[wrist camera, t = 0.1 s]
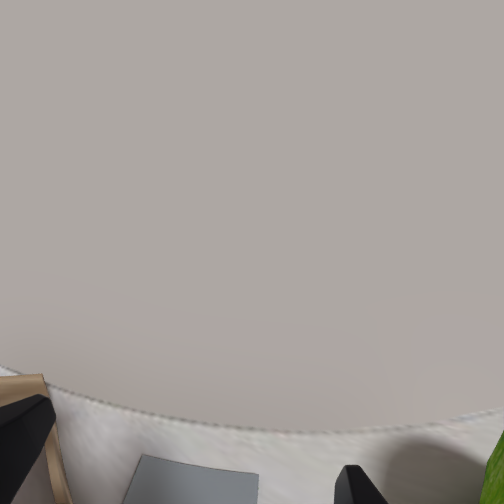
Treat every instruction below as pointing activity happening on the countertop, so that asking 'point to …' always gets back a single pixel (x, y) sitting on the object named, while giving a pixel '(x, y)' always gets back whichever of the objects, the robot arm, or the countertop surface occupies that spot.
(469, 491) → the countertop surface
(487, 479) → the lettuce
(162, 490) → the slate tile
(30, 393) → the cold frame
